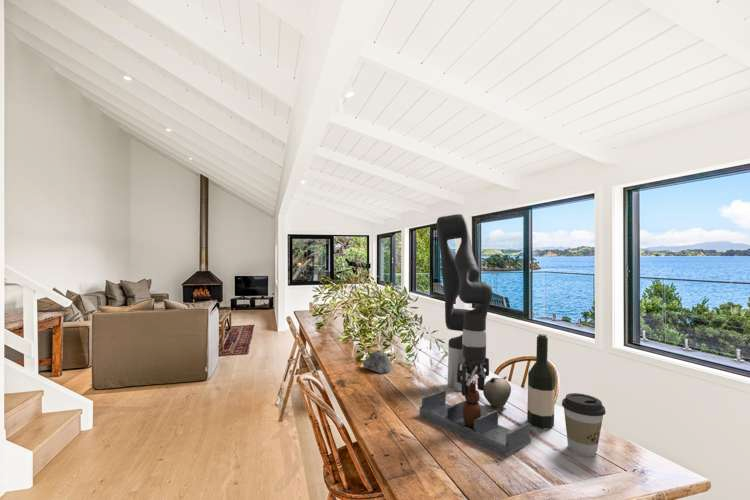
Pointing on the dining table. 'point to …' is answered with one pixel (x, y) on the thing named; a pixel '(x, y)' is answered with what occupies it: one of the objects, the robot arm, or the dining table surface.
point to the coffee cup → (583, 422)
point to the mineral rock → (378, 362)
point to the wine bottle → (541, 389)
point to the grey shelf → (475, 426)
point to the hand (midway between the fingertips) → (473, 392)
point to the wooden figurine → (471, 406)
